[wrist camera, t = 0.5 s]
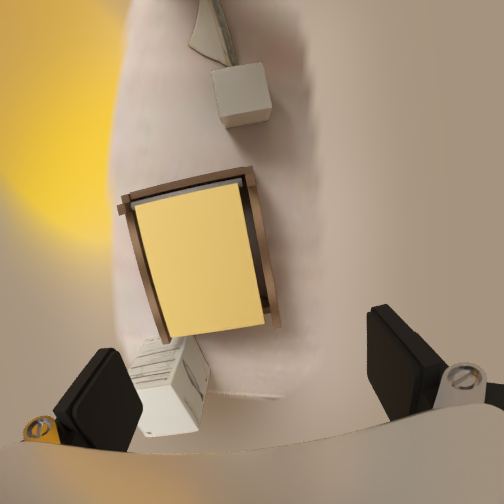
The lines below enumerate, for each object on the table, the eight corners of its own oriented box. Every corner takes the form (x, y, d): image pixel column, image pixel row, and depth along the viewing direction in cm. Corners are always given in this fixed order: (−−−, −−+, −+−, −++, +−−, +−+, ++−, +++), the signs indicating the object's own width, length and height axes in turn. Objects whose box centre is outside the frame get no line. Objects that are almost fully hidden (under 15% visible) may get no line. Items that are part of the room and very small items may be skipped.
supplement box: (212, 369, 41) (201, 433, 29) (166, 379, 42) (144, 439, 29) (192, 326, 39) (171, 384, 27) (144, 338, 40) (112, 393, 28)
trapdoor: (133, 202, 28) (129, 203, 27) (241, 177, 28) (240, 177, 27) (169, 333, 32) (167, 338, 31) (268, 318, 31) (268, 322, 30)
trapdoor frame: (143, 191, 35) (114, 196, 27) (251, 167, 35) (252, 164, 26) (176, 317, 39) (159, 351, 31) (276, 301, 38) (282, 334, 30)
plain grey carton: (217, 89, 32) (210, 70, 25) (259, 82, 32) (262, 61, 25) (225, 128, 33) (219, 117, 27) (268, 120, 33) (272, 107, 26)
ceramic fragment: (240, 74, 32) (239, 63, 28) (198, 85, 32) (192, 75, 29) (216, -8, 29) (213, -23, 25) (178, 2, 29) (172, -12, 26)
